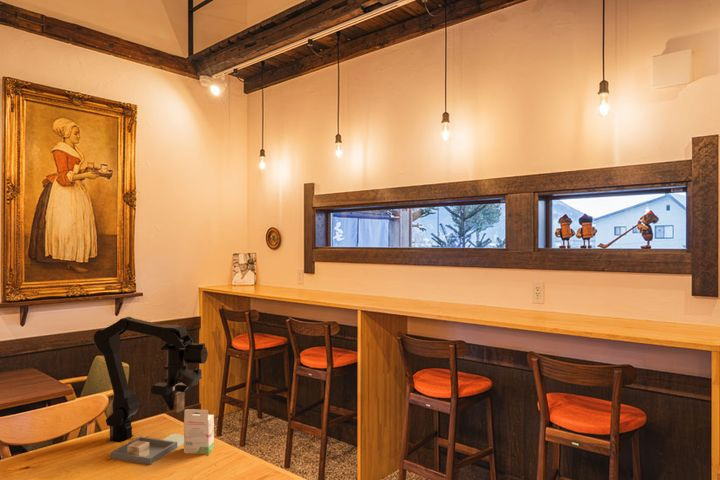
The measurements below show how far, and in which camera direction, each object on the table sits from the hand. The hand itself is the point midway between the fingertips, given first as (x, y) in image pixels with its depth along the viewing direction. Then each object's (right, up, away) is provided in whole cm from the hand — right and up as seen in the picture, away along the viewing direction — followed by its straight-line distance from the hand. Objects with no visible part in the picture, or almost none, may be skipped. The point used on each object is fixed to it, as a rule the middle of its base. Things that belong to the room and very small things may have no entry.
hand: (175, 407), depth 168 cm
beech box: (-7, -11, -13) cm, 18 cm away
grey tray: (-6, -12, -10) cm, 17 cm away
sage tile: (0, -12, 0) cm, 12 cm away
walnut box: (0, -1, 0) cm, 1 cm away
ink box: (+11, -12, -8) cm, 18 cm away
